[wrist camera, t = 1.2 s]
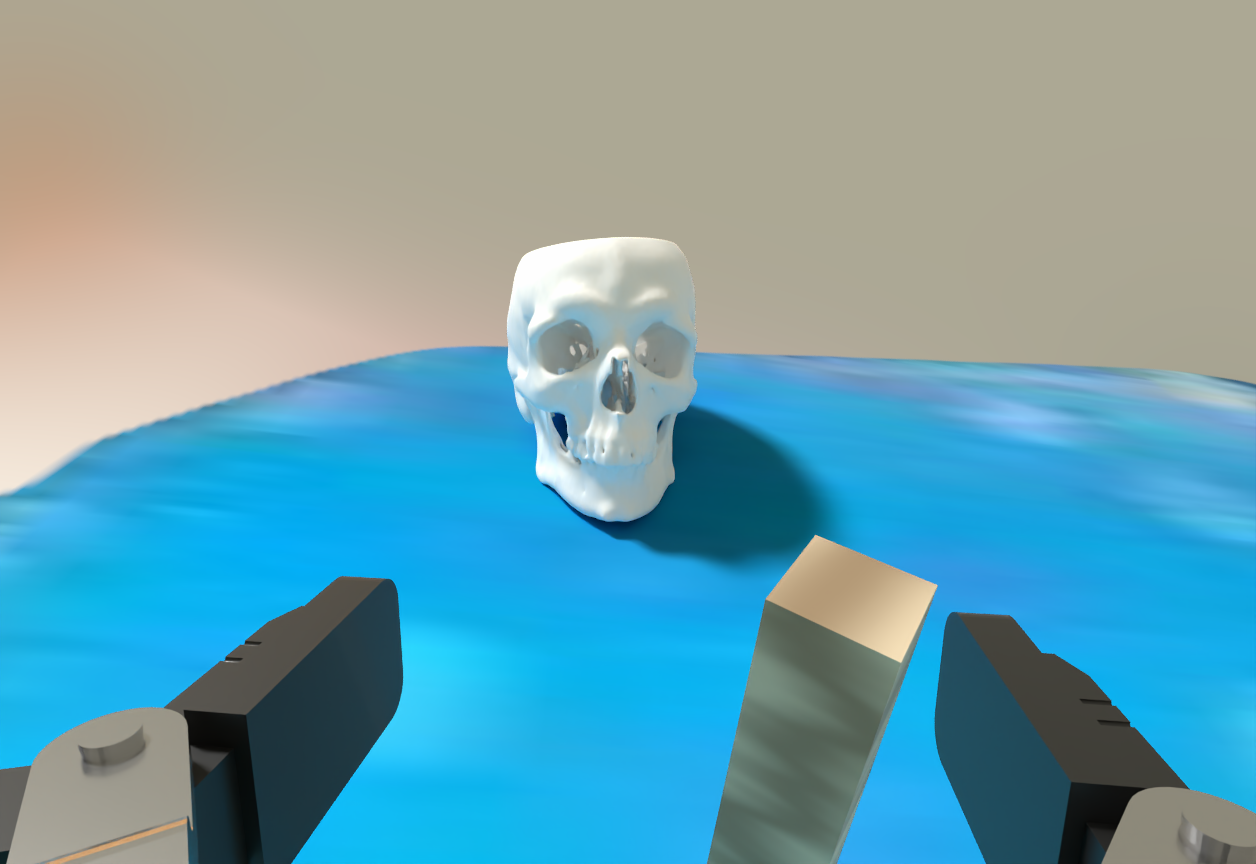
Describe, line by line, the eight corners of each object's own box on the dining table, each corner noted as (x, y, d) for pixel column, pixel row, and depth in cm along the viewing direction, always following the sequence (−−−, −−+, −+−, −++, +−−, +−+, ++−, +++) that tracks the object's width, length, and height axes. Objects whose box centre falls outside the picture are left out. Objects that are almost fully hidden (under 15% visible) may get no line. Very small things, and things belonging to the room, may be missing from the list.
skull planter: (501, 528, 44) (505, 198, 43) (506, 490, 64) (509, 263, 63) (730, 527, 46) (738, 211, 45) (667, 491, 66) (671, 270, 65)
